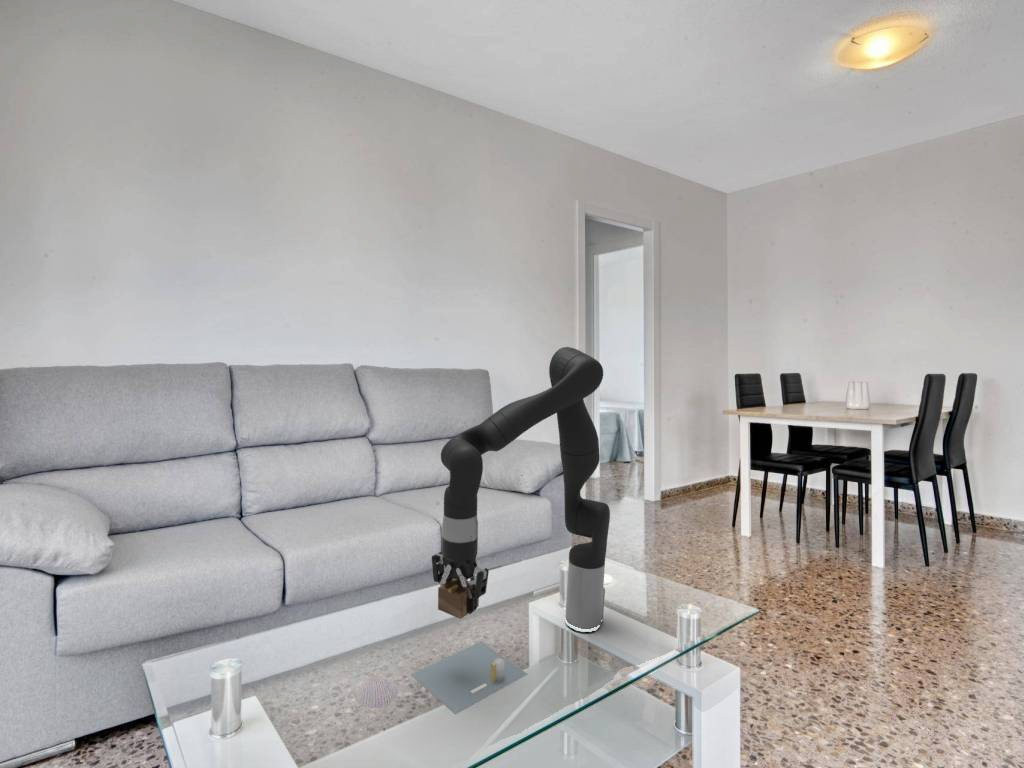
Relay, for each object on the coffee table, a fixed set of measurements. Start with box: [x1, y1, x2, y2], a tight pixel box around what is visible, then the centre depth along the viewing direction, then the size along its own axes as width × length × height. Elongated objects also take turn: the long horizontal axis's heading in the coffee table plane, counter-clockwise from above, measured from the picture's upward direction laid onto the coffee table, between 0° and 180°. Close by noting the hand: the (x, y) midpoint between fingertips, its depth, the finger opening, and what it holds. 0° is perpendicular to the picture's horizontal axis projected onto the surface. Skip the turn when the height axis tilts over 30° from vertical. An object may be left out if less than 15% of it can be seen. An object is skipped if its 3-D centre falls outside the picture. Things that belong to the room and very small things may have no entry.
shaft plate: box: [410, 641, 528, 715], centre depth 129 cm, size 20×16×5 cm
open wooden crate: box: [437, 579, 480, 620], centre depth 127 cm, size 6×6×6 cm
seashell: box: [354, 673, 399, 709], centre depth 122 cm, size 10×6×10 cm
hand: (458, 606), depth 127 cm, fingers closed on open wooden crate, 6 cm apart
